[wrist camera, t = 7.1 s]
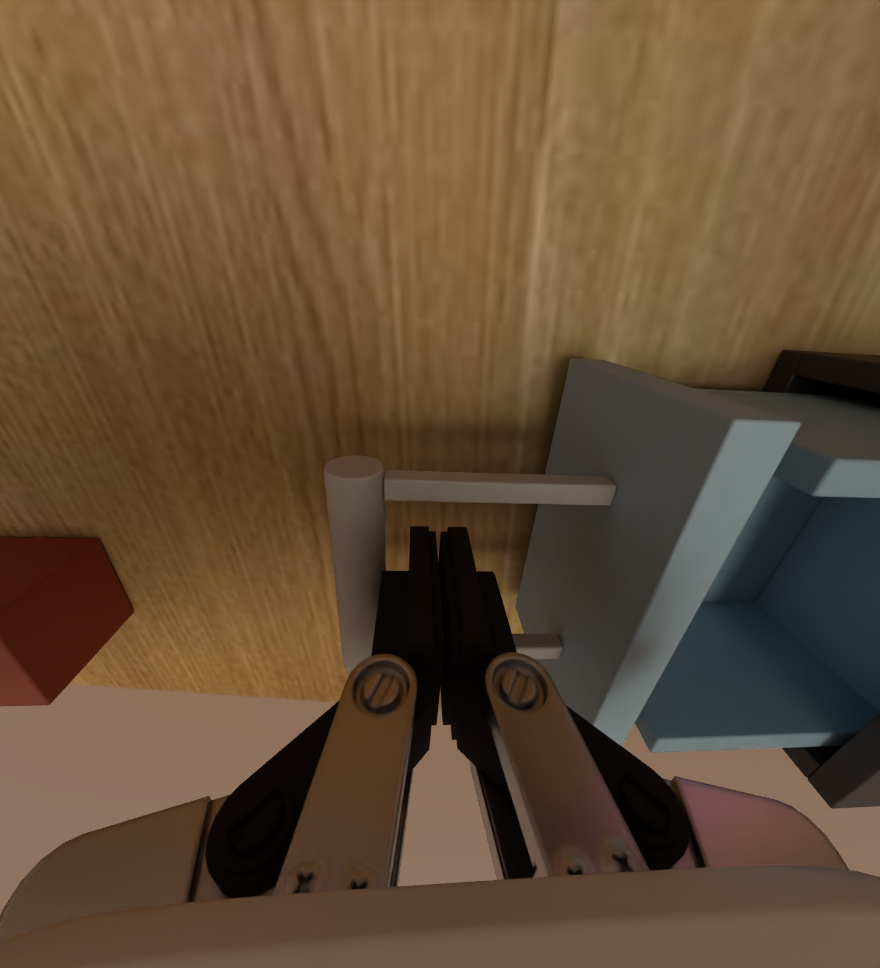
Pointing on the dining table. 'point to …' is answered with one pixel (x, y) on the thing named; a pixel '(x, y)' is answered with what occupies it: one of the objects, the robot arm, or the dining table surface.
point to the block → (53, 614)
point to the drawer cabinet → (876, 747)
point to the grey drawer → (674, 559)
